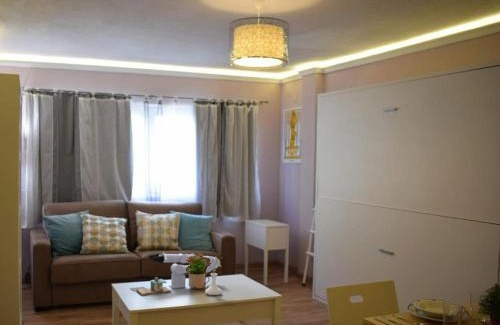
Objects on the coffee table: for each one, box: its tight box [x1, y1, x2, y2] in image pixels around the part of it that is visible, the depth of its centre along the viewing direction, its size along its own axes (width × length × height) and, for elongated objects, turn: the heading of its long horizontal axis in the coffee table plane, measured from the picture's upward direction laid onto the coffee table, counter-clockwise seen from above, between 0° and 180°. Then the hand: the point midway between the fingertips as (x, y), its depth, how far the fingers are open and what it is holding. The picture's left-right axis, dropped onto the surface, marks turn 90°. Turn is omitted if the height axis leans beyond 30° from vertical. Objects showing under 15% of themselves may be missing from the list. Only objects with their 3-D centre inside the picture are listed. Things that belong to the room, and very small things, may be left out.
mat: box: [129, 286, 146, 292], centre depth 352 cm, size 10×8×1 cm
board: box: [136, 286, 172, 297], centre depth 345 cm, size 20×12×2 cm, turn 119°
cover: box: [150, 276, 167, 289], centre depth 346 cm, size 8×8×8 cm
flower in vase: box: [204, 256, 223, 296], centre depth 344 cm, size 13×11×25 cm
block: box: [154, 283, 164, 291], centre depth 346 cm, size 4×4×6 cm
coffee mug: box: [204, 273, 210, 285], centre depth 359 cm, size 12×9×10 cm
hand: (151, 258), depth 352 cm, fingers open, 7 cm apart
